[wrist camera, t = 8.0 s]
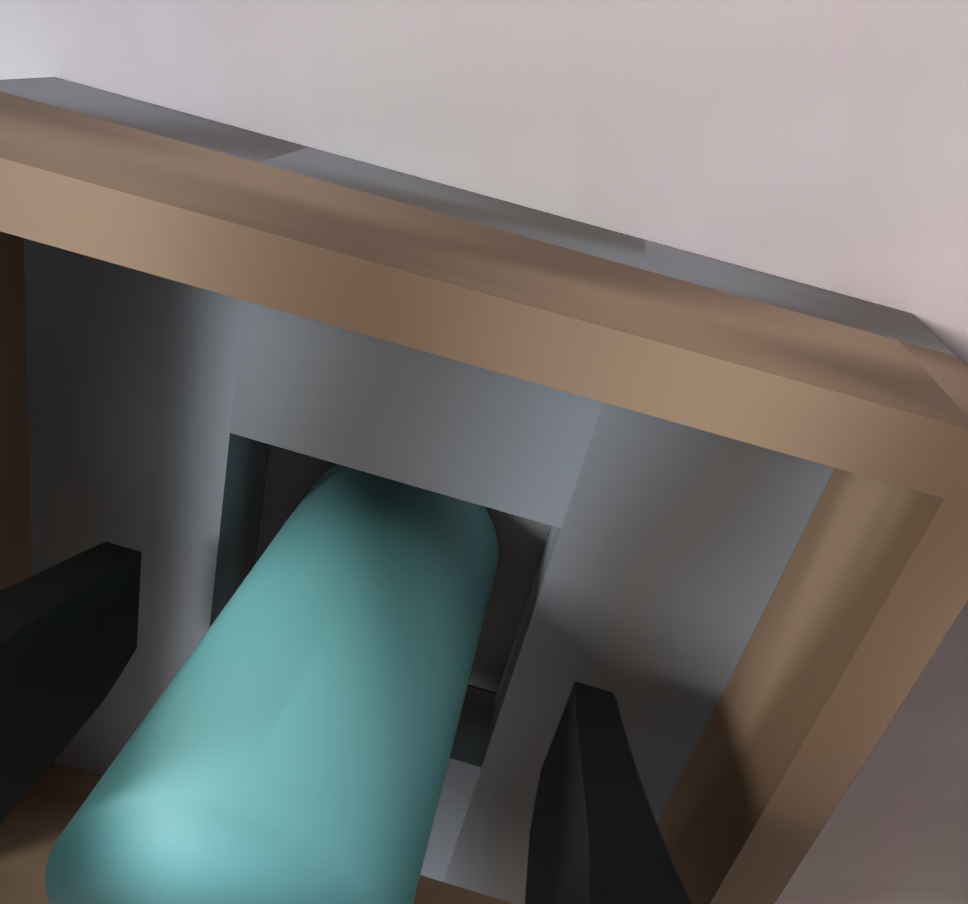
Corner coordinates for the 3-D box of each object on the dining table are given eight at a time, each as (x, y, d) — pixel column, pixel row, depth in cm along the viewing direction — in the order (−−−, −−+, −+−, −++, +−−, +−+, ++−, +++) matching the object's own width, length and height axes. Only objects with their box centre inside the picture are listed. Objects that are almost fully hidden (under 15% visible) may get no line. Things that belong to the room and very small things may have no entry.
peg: (542, 551, 16) (470, 965, 9) (409, 659, 17) (257, 1081, 10) (383, 410, 15) (163, 738, 8) (259, 538, 17) (-14, 903, 10)
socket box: (911, 313, 13) (1061, 453, 8) (630, 880, 19) (629, 1130, 15) (54, 77, 13) (-233, 92, 9) (57, 707, 20) (-109, 898, 15)
